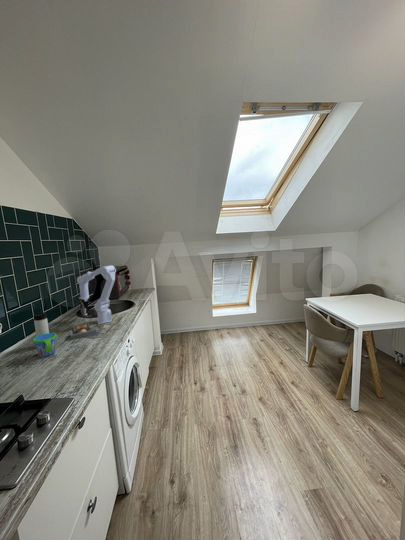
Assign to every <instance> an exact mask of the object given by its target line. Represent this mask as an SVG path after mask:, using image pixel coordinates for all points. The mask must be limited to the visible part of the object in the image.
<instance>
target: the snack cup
mask: <svg viewBox="0 0 405 540" xmlns="http://www.w3.org/2000/svg"><path fill="white" fill-rule="evenodd" d="M57 337H58V335H57V333H56V332H49V333H47V334H43V335H40V336H37V337H36V336H35V337H34V338H33V339H32V342H33V344H34V346H35V349H36V352H37V355H38V356H39V357H40V358H45V357H50V356H52V355H54V354H55V353H56V347H57V344H56V343H57Z"/></svg>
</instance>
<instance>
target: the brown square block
mask: <svg viewBox="0 0 405 540" xmlns="http://www.w3.org/2000/svg"><path fill="white" fill-rule="evenodd" d="M83 329H85V330H86V331H89V328H88V325H87V323H86V324H81V325H77V326H76V330H77V331H76V332H77V333H80V331H81V330H83Z"/></svg>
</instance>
